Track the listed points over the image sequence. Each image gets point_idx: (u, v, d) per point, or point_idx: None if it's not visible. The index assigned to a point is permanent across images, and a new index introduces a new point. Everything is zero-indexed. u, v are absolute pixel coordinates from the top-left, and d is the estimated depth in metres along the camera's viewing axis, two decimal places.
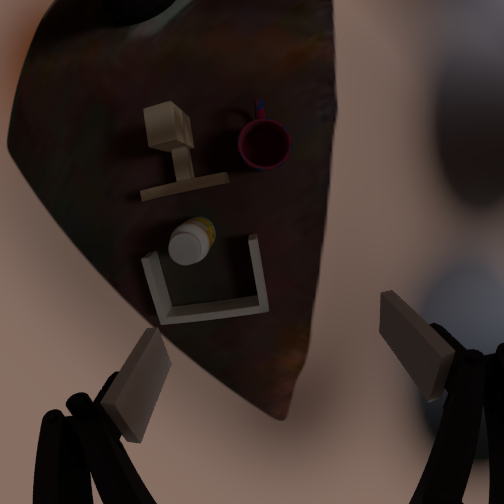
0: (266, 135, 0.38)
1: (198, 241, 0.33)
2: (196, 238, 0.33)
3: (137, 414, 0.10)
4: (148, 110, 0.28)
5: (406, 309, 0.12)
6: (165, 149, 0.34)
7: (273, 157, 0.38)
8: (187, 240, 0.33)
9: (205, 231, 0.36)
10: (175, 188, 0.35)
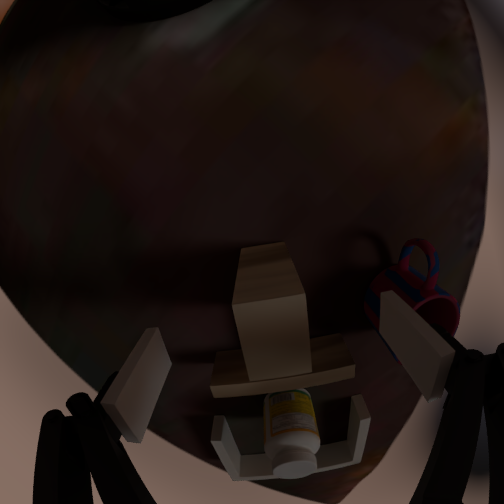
0: None
1: (315, 460, 0.18)
2: (313, 458, 0.18)
3: (137, 414, 0.10)
4: (246, 310, 0.13)
5: (406, 309, 0.12)
6: None
7: None
8: (302, 465, 0.18)
9: (316, 432, 0.21)
10: (273, 387, 0.21)
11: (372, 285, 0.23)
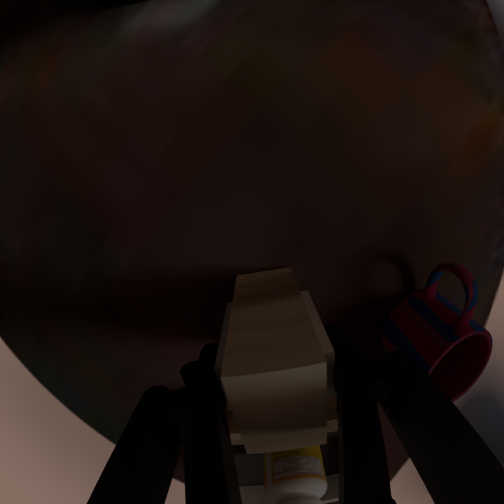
0: None
1: None
2: None
3: None
4: (241, 384, 0.09)
5: (309, 309, 0.14)
6: None
7: None
8: None
9: (323, 476, 0.16)
10: None
11: (394, 315, 0.18)
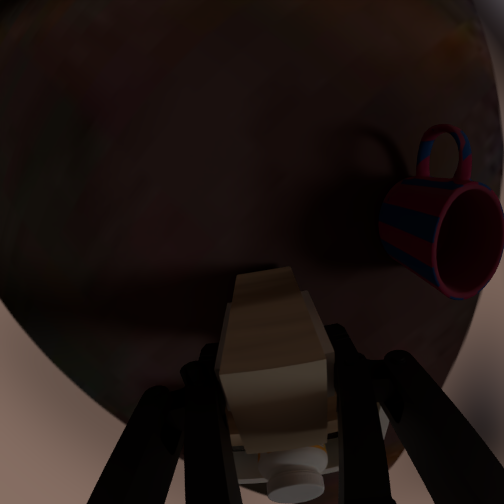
0: None
1: (322, 482, 0.13)
2: (320, 480, 0.13)
3: None
4: (239, 382, 0.08)
5: (309, 309, 0.14)
6: None
7: None
8: (305, 489, 0.13)
9: (324, 447, 0.16)
10: None
11: (388, 198, 0.17)
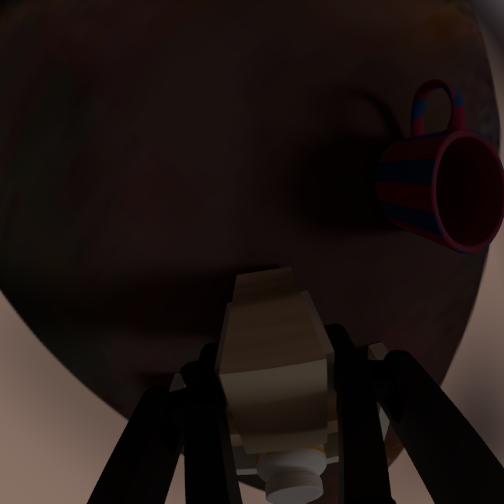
0: None
1: (321, 484, 0.13)
2: (319, 482, 0.13)
3: None
4: (239, 381, 0.08)
5: (309, 309, 0.14)
6: None
7: None
8: (304, 491, 0.13)
9: (323, 449, 0.16)
10: None
11: (383, 157, 0.16)
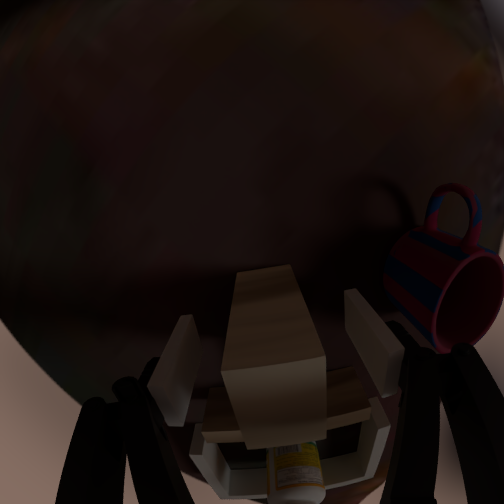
0: None
1: None
2: None
3: (180, 397, 0.11)
4: (241, 378, 0.09)
5: (364, 306, 0.13)
6: None
7: None
8: None
9: (322, 484, 0.17)
10: None
11: (394, 251, 0.17)
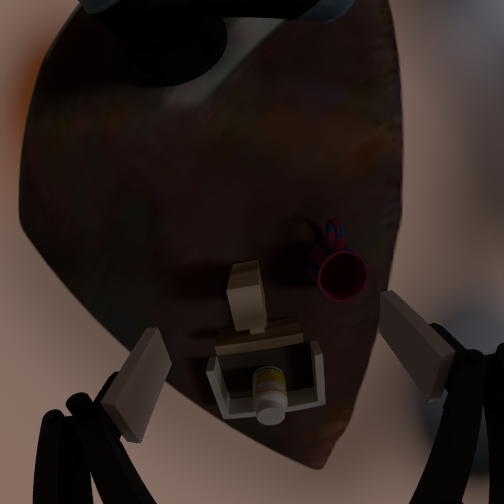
0: None
1: (283, 410, 0.34)
2: (282, 408, 0.34)
3: (137, 414, 0.10)
4: (232, 292, 0.29)
5: (406, 309, 0.12)
6: None
7: (340, 272, 0.38)
8: (275, 412, 0.34)
9: (285, 393, 0.37)
10: (253, 347, 0.36)
11: (310, 252, 0.38)
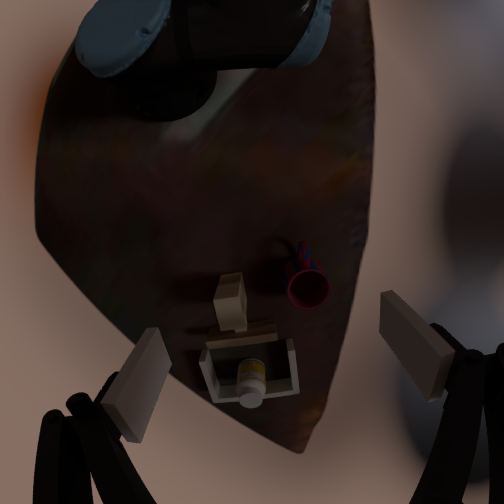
0: None
1: (261, 396, 0.43)
2: (260, 394, 0.43)
3: (137, 414, 0.10)
4: (218, 302, 0.37)
5: (406, 309, 0.12)
6: None
7: (310, 283, 0.46)
8: (254, 396, 0.42)
9: (263, 382, 0.46)
10: (236, 342, 0.45)
11: (285, 267, 0.46)
